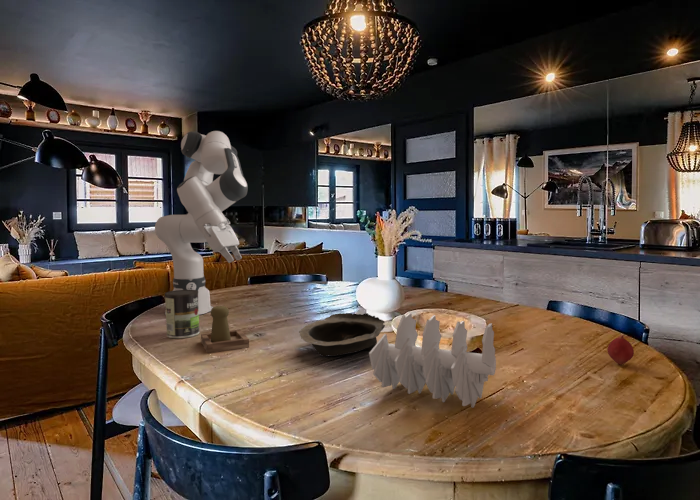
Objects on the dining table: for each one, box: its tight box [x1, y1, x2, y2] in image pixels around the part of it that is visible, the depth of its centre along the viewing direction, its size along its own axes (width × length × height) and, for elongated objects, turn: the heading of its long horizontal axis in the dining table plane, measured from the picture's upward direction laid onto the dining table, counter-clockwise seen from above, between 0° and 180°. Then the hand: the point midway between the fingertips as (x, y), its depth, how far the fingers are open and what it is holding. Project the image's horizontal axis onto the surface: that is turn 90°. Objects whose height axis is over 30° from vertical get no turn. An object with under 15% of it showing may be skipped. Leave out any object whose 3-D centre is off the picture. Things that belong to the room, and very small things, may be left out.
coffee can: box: [164, 290, 200, 339], centre depth 147 cm, size 10×10×14 cm
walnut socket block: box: [200, 329, 250, 354], centre depth 135 cm, size 12×12×2 cm
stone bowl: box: [298, 312, 386, 358], centre depth 129 cm, size 25×25×9 cm
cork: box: [210, 305, 231, 342], centre depth 134 cm, size 6×6×11 cm
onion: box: [607, 334, 635, 366], centre depth 116 cm, size 6×6×8 cm
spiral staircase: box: [368, 312, 497, 408], centre depth 97 cm, size 18×18×25 cm
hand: (235, 260), depth 143 cm, fingers open, 8 cm apart
